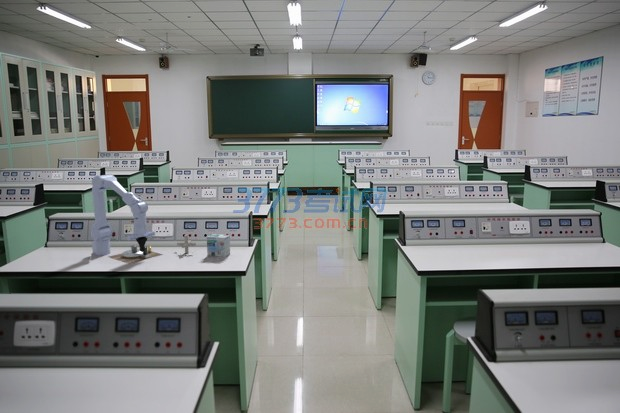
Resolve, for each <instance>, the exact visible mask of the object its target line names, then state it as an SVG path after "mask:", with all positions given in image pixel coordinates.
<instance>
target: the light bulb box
mask: <svg viewBox="0 0 620 413" xmlns="http://www.w3.org/2000/svg"><path fill="white" fill-rule="evenodd" d="M230 238H231V237H230V234H218V233H211V234H210V235H207V236H206V251H207V252H206V253H207V257H218V258H226V257H228V256H230V255H231V239H230Z"/></svg>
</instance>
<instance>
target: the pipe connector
mask: <svg viewBox="0 0 620 413" xmlns="http://www.w3.org/2000/svg"><path fill="white" fill-rule="evenodd" d="M183 238H184V241H183V242H182V241H181V242H179V241H178V242H176V245H177V246H179V247H181V248H182V249H184V253H185V254H189V252H190V251H189V247H196V245H197V243H196V242H192V240H189V236H188V234H184V237H183Z"/></svg>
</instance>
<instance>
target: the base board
mask: <svg viewBox="0 0 620 413" xmlns="http://www.w3.org/2000/svg"><path fill="white" fill-rule="evenodd" d="M122 253H123V252H121V253H117V254H113V255H108V258H110V259H114V260H117V261H120V262H122V263H124V264H125V263H126V264H129V265H130V264H133V263H137V262H141V261H144V260H147V259H151V258H156V257H160V256H164V254H162V253H158V252H155V251H153V250H151V253H148V249H147V253H148V254H149V257H148V258H142V257H138V258H124V257H122Z"/></svg>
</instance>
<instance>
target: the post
mask: <svg viewBox="0 0 620 413" xmlns="http://www.w3.org/2000/svg"><path fill="white" fill-rule="evenodd" d="M130 248H131V249H130V250H131V251H132V253H135V252H137V249H138V246H137V244H136V245H135V244H134V245H131V247H130Z"/></svg>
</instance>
